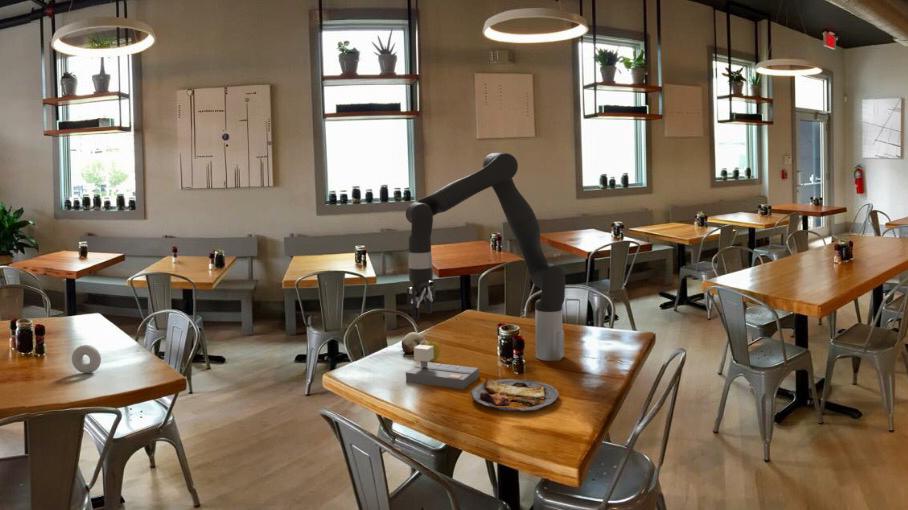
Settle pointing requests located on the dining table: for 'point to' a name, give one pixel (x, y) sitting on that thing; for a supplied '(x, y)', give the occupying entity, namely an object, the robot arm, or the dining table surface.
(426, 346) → the fader knob
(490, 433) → the dining table surface
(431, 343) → the lemon
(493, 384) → the food plate
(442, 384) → the slider console
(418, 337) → the skull
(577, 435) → the dining table surface
